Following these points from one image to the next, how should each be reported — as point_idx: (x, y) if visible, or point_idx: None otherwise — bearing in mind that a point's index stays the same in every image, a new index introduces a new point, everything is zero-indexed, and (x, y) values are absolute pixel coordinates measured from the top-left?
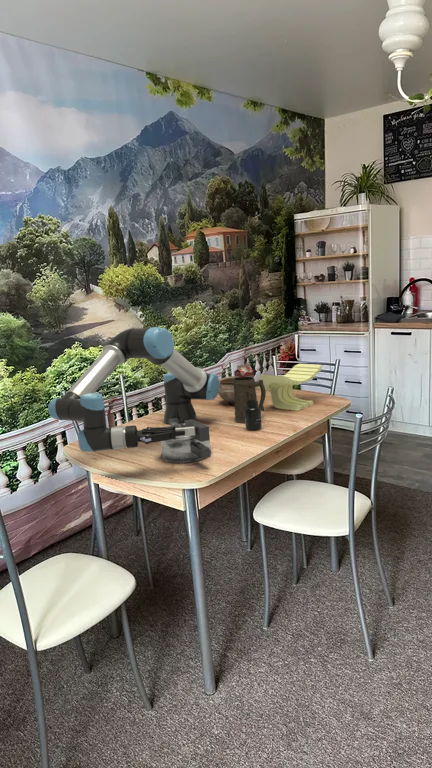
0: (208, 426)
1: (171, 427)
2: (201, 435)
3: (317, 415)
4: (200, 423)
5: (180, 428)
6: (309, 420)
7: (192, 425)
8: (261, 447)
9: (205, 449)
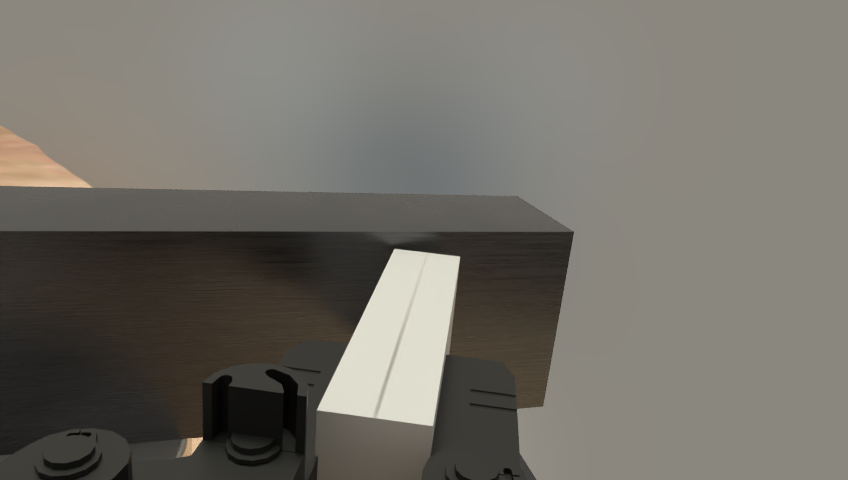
0: (518, 197)
1: (99, 463)
2: (553, 325)
3: (20, 159)
4: (328, 197)
5: (401, 354)
6: (46, 175)
7: (310, 247)
8: None
9: (527, 467)
